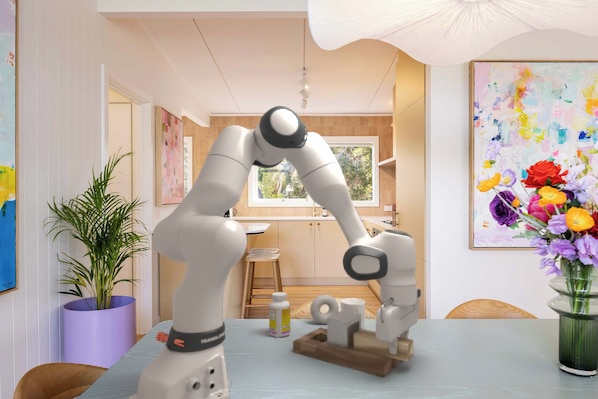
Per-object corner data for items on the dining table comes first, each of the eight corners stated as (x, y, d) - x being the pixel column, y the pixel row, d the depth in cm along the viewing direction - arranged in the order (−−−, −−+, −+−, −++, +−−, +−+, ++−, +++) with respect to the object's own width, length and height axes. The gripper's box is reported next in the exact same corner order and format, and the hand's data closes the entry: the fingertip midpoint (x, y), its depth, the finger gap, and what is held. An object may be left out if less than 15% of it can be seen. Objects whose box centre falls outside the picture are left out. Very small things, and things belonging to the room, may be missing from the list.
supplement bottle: (291, 331, 125) (291, 291, 125) (289, 338, 118) (288, 296, 118) (271, 330, 126) (271, 291, 126) (267, 337, 119) (267, 296, 119)
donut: (336, 321, 135) (336, 292, 135) (340, 324, 131) (339, 294, 132) (309, 323, 133) (309, 294, 133) (311, 326, 129) (311, 296, 129)
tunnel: (346, 350, 101) (346, 321, 101) (327, 345, 104) (327, 317, 104) (361, 340, 108) (361, 314, 108) (342, 336, 111) (342, 310, 111)
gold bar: (407, 361, 93) (407, 345, 93) (353, 348, 102) (353, 333, 102) (413, 355, 97) (413, 339, 97) (361, 343, 106) (361, 328, 106)
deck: (383, 377, 92) (383, 365, 92) (293, 351, 108) (293, 341, 108) (405, 358, 103) (405, 346, 103) (320, 337, 119) (320, 327, 119)
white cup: (360, 338, 118) (360, 305, 118) (336, 333, 122) (336, 302, 122) (368, 330, 125) (368, 299, 125) (346, 326, 129) (346, 296, 129)
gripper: (394, 305, 87) (394, 367, 87) (423, 288, 103) (423, 340, 103) (368, 301, 90) (369, 360, 90) (400, 285, 107) (401, 335, 107)
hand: (398, 349), depth 97 cm, fingers closed on gold bar, 4 cm apart
